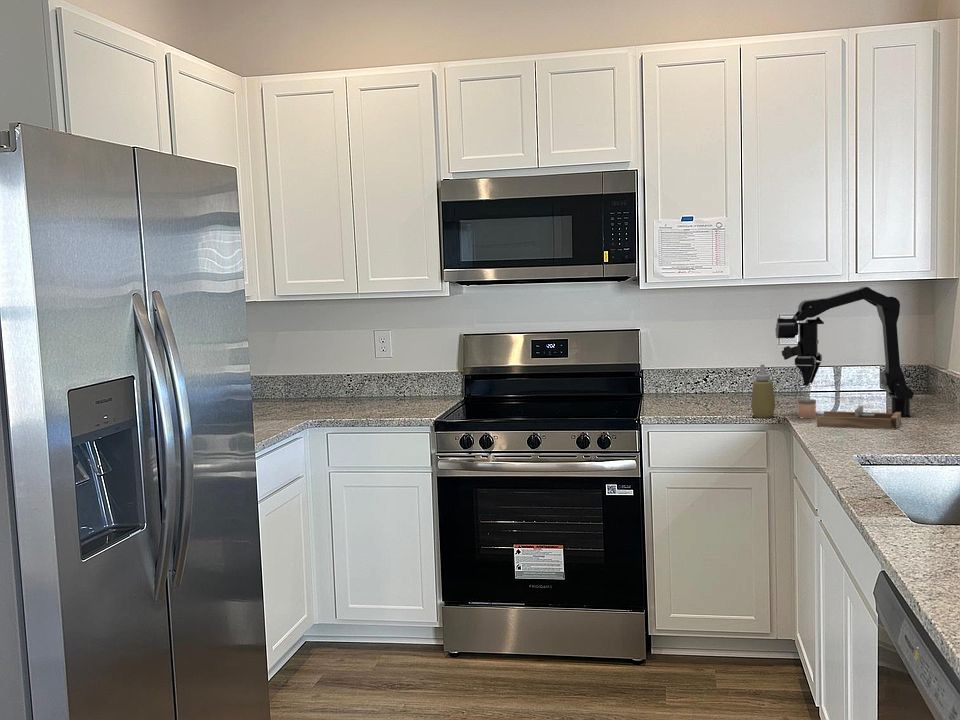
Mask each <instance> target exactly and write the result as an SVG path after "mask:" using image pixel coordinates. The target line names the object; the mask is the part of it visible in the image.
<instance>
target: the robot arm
mask: <svg viewBox="0 0 960 720" xmlns="http://www.w3.org/2000/svg"><path fill="white" fill-rule="evenodd" d="M862 300H864V301H866V302H867V303H869V304H871V305H872V306H874V307H875V308H876V310H877V315H878V317H879V319H880V321H881V325H882V334H883V336H882V337H883V347H884V361H885V366H884V367H885V368H884V371H879V374H880V375H879V376H880V385H882V388H883V389H884V390H885V391H886V392H888V395H889V396H890V397H891V403H890V404H891V406H890V407H891V411H890V412H891V413H895V412H901V418H912V416H913V413H912V412H911V400H912V399H913V398H914V394H915V392H914V390H912V389H911V388H909V386H907V381H906V378H905V374H904V372H903V369H902V367H901V361H900V360H901V359H900V350H899V337H898V320H899V316H900V309H901V302H900V300H899V299H898V298H896V297H895V296H887V295H884V294H882V293H880V292H878V291H876V290H874V289H871V287H869V286H862V287H859V288H856V289H854V290H853V289H852V290H850V291H849V290H848V291H846V292H842V293H839V294H836V295H835V294H834V295H832V296H829V297H824V298H816V299H815V298H814V299H813V298H812V299H806V300H803V301H801V302H799V304H798V307H797V311H796V312H795V314H794V315H793V317H791V318H782V317H778V318H777V319H776V325H775V338H776V339H795V338H796V336H798V335H799V336H798V337H799V341H798V342H797V345H796V346H793V347H791V346H790V345H787V346H785V347H783V350H781V356H782V357H783V359H784V360H788V359H791V358H793V357H795V356H796V357H795V358H794V365H795V367H796V368H798V369H799V370H800V373H801V376H802V380H803V384H804V386H805V387H809V385H810V384H813V383H814V380H815V377H816V376H817V373H818V372H819V371H818V370H819V368H820V365H821V364H822V360H823V354H821V353H820V352H818V349H819V347H818V345H819V340H818V335H819V333H818V332H819V331H818V330H819V329H818V325H824V324H825V322H824V320H822V319H821V318H820V316H818V315H821V314H823V313H825V312H826V311H828V310H830V309H834V308H836V307H841V306H844V305H847V304H852V303H856V302H858V301H862ZM812 318H813V319H812Z"/></svg>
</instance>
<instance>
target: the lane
mask: <svg viewBox="0 0 960 720" xmlns="http://www.w3.org/2000/svg"><path fill="white" fill-rule="evenodd" d="M863 414H875V418H855V411H827V410H825V411H823V416H818V415H817V416H816V427H819V426H839V427H838V428H846V427H861V428H860V429H874V428H895V429H894V430H897V429H898V428H899V427H900V425H901V424H902V417H901V412H895V413H892V412H864V411H863ZM900 423H901V424H900ZM899 424H900V425H899ZM897 427H898V428H897ZM896 428H897V429H896Z"/></svg>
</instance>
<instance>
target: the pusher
mask: <svg viewBox="0 0 960 720" xmlns="http://www.w3.org/2000/svg"><path fill="white" fill-rule="evenodd" d="M854 412H855V418H875V414H863V412H864V406H863V405H859V406H858V407H856V409H854Z"/></svg>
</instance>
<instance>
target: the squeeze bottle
mask: <svg viewBox="0 0 960 720" xmlns="http://www.w3.org/2000/svg"><path fill="white" fill-rule="evenodd" d="M770 380H771V375H770V374H767V371H766V367H765V364H760V368H759V372H758V374H757V375H755V381H754V382H753V383H752V391H751V405H750V407H751V410H752V413H753V416H754V417H755V418H756V419H757V418H759V419H769V418H772V417H773V416H774V414H775V413H774V412H775V409H776V400H775V391H774V384H773V382H772V381H770Z"/></svg>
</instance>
